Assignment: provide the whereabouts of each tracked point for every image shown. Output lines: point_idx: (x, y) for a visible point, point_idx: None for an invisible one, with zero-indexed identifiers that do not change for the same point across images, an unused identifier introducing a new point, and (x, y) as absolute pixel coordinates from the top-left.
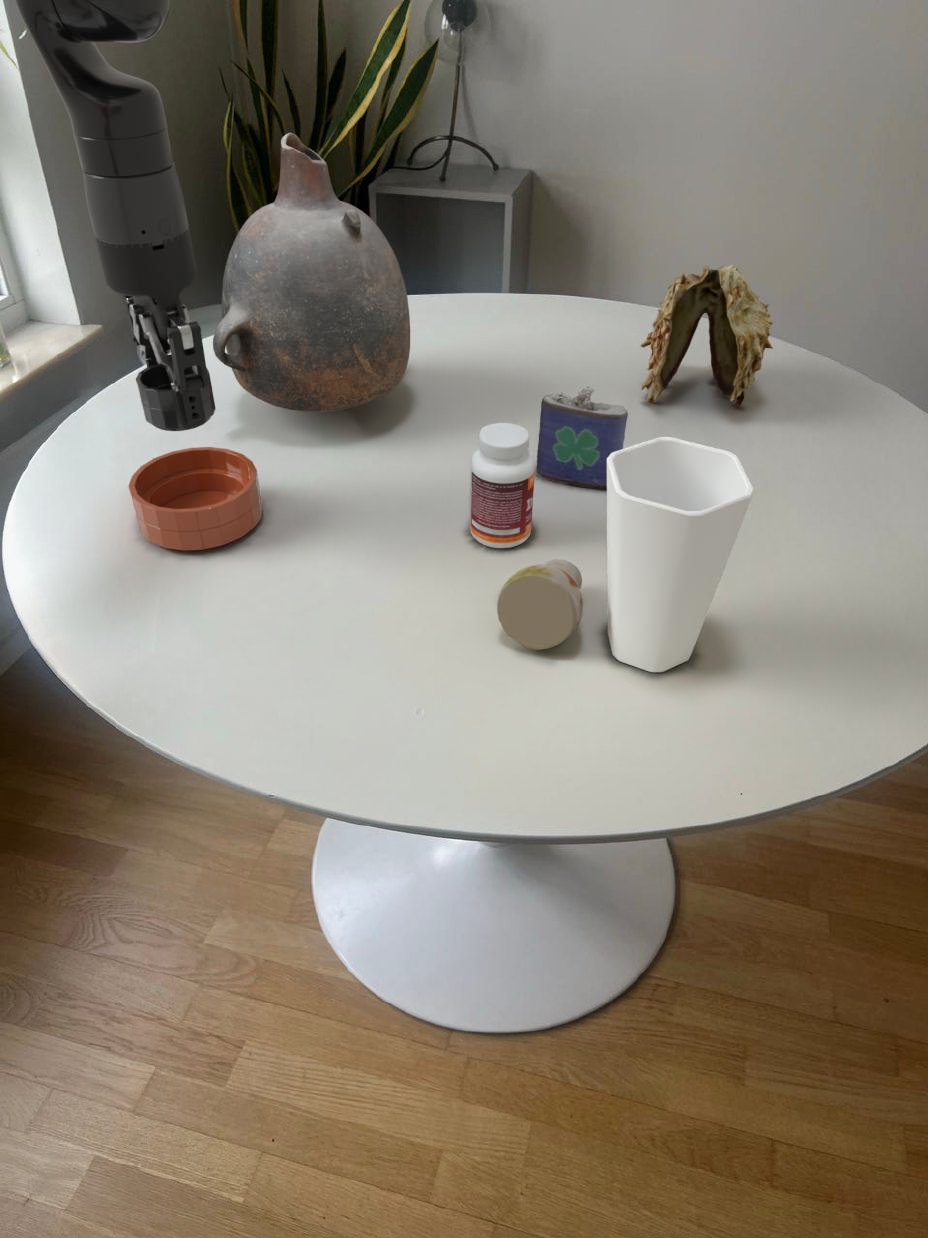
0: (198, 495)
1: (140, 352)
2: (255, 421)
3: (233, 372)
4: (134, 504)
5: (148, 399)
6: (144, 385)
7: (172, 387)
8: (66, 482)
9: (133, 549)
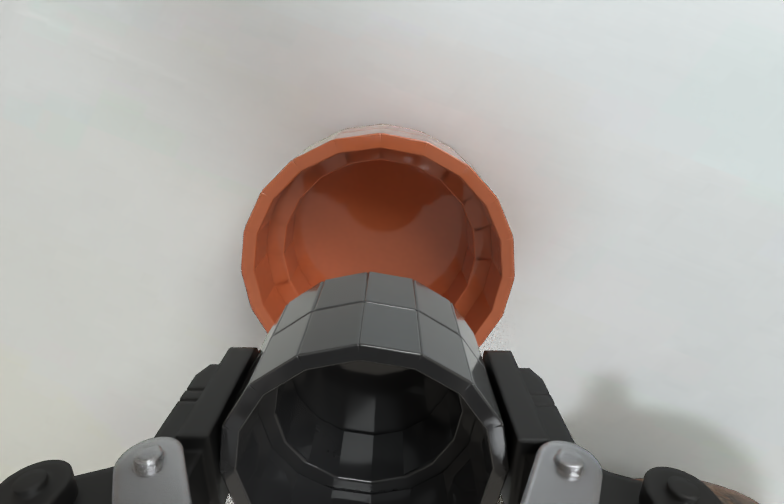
0: (447, 262)
1: (575, 458)
2: (631, 429)
3: (717, 494)
4: (375, 131)
5: (303, 330)
6: (332, 361)
7: (139, 450)
8: (692, 54)
9: (358, 94)
